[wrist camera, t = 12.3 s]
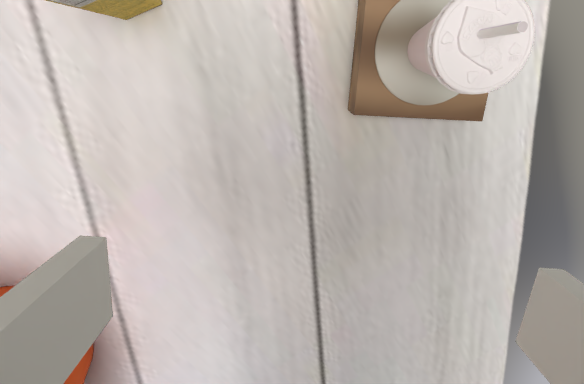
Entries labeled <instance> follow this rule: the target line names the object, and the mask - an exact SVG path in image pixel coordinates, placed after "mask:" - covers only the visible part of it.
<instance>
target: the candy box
mask: <svg viewBox="0 0 584 384" xmlns="http://www.w3.org/2000/svg"><path fill="white" fill-rule="evenodd" d="M46 1H51V2H54V3H59V4H63V5H67V6H71V7H75V8H80V9H84V10H88V11H92V12H96V13H100V14H105V15H109V16H113V17H117V18H121V19H125V20H127V19H129V18H132V17H134V16H136V15H138V14H141V13H143V12H145V11H148V10H150V9H152V8H155V7H157V6H159V5H162V2H161V0H46Z"/></svg>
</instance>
